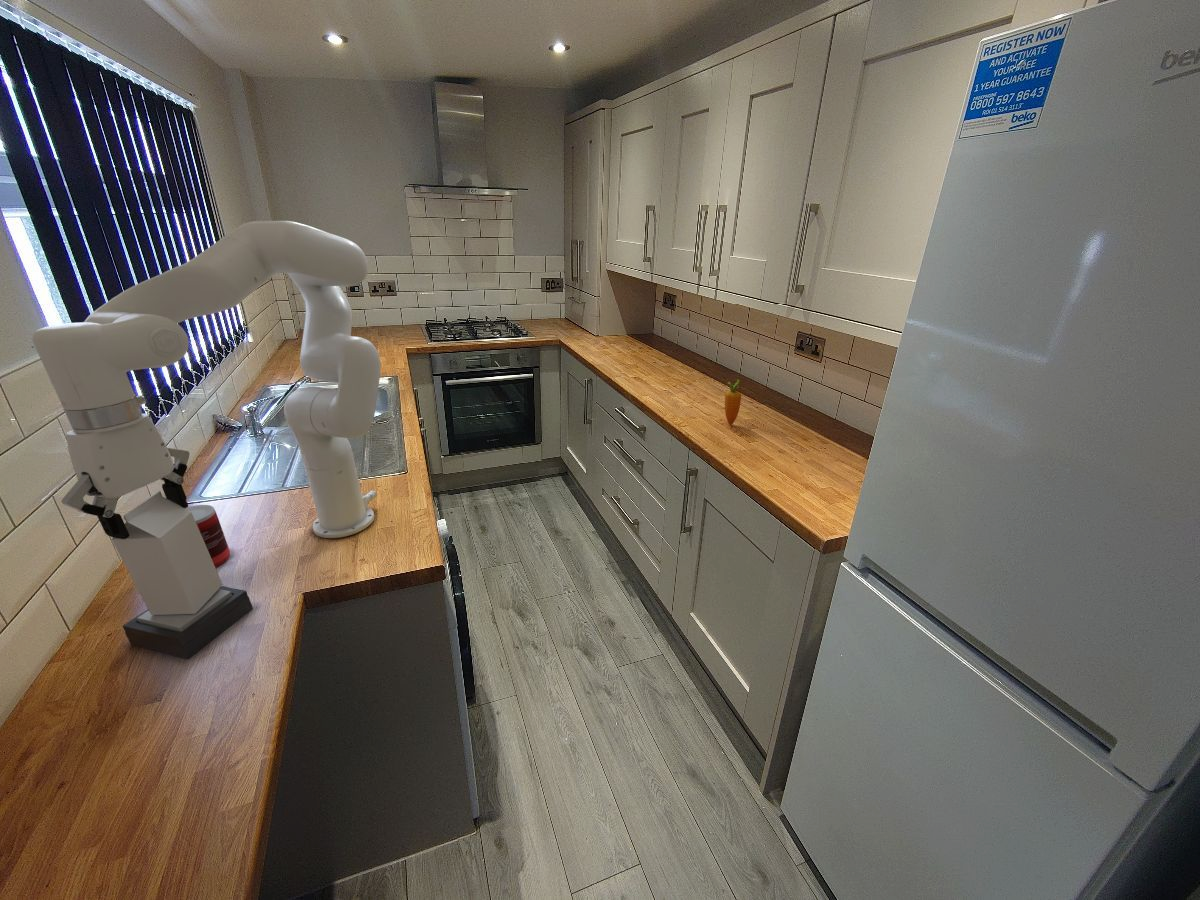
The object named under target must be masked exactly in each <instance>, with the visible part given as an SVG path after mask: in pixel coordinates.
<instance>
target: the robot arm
mask: <svg viewBox="0 0 1200 900" xmlns="http://www.w3.org/2000/svg"><path fill="white" fill-rule="evenodd" d="M368 272H369V263H368V258H367V257H366V254H365V253H364V251H363V249H361V247H360V246H359V245H358V244H357V243H355V242H353V241H352V240H351V239H348V238H345V237H342V236H339V235H336V234H333V233H330V232H327V231H325V230H322V229H318V228H316V227H313V226H310V225H307V224H303V223H300V222H296V221H291V220H255V221H250V222H249V221H248V222H245V223H243V224H240V225H239V226H237V227H235V228H234V229H233V230H232V231H230V232H229V233H227V234H226V235H225V236H223V237H221V238H220V239H219V240H218V241H216V242H214V243H213V244H211V246H209V247H207V248H206V249H205V250H203V251H202V252H201V253H199V254H198V255H196V256H195V257H193V258H192V259H190V260H188V261H187V262H185V263H183V264H180V265H177V266H175V267H173V268H171V269H168V270H166V271H163V272H162V273H160V274H157V275H156V276H153V277H150V278H148V279H145V280H144V281H141V282H140V283H137V284H134V285H133V286H130V287H129V288H127V289H125V290H124V291H121V292H120V293H119V294H117V295H116V296H114V297H112V298H111V299H110V300H107V302H105V303H103V304H102V305H101V306H99V307H98V308H96V309H95V310H94V311H93V312H91V313H90V314H89V315H88V316H87V317H86V319H85V320H84V321H82V322H68V323H60V324H52V325H48V326H43V327H41V328H39V329H37V330H35V331H34V332H33V334H32V342H33V346H34V348H35V350H36V352H37V354H38V357H39V358H40V361H41V364H42V365H43V368H44V369H45V372H46V374H47V376H48V378H49V380H50V383H51V384H52V387H53V389H54V391H55V393H56V396H57V397H58V400H59V402H60V404H61V406H62V408H63V411H64V413H65V415H66V417H67V420H68V422H69V424H70V427H71V428H72V429H71V430H69V431H67V432H66V433H65V435H66V443H67V449H68V454H69V457H70V462H71V463H72V464H71V465H72V468H73V471H74V473H75V476H76V479H77V481H76V482H75V483H74V484H73V485H72V487H71V488H70V490H68V492H67V493H66V494H65V495H64V496H63V497H62V498H61V504H62V505H65V506H67V507H68V508H71V509H73V510H76V511H77V512H79V513H82V514H86V515H87V514H88V515H92V516H96V517H97V518H98V521H99V523H100V526H101V527H102V530H103V531H104V533H105V534H106V535H107V536H109V537H110V538H113V537H114V538H119V539H126V538H128V537H129V536H130V535H129V533H128V530H127V528H126V526H125V520H124V519H123V517H122V515H121V514H120V513H116V512H115V511H116V508H117V505H118V501H119V498H120V497H123V496H126V495H128V494H130V493H132V492H135V491H137V490H140V489H141V488H144V487H146V486H148V485H151V484H152V483H155V482H157V481H159V480H160V481H162V482H163V483H162V484H161V488H162V491H163V493H164V496H165V498H166V499H168V500H170V501H172V502H174V503H176V504H178V505H180V506H181V507H183V508H187V507H189V504H188V500H187V498H188V497H187V495H186V493H185V491H184V487H183V485H182V484H184V483H185V474H186V473H187V470H188V465H187V464H189V463H188V462H189V459H190V451H188V450H184V449H177V448H171V447H168V446H167V444H166V442H165V441H164V439H163V437H162V434H161V433H160V431H159V430H158V428H157V426H156V425H155V424H154V422H153V421H152V419H151V418H150V417H149V416H148V414H146V413H142V412H143V410H142V407H141V406H142V405H145V404H147V399H146V397H145V396H144V395H142V394H140V395H137V394H135V392H134V390H133V387H132V385H131V382H130V379H129V377H128V374H127V373H128V372H131V371H137V370H148V369H157V368H164V367H169V366H171V365H173V364H176V363H177V362H179V361H180V360H181V359H183V358H184V357H185V355H186V354H187V351H188V350H189V346H190V342H189V341H190V340H189V336H188V334H187V333H186V331H185V330H184V328H183V327H182V325H180V323H182V322H184V321H187V320H191V319H194V318H195V319H196V318H198V317H203V316H208V315H213V314H217V313H220V312H225V311H227V310H230V309H232V308H235V307H237V306H238V305H239V304H241V303H242V302H243V301H244V300H245V299H246V298H248V297H249V296H250V295H251V294H252V293H254V291H256V290H257V289H258V288H259V287H260V286H262V285H263V284H264V283H266V282H267V281H268V280H270V278H272V277H273V276H275V275H277V274H287V276H288V277H289V278H290V279H291V281H292V282H293V283H294V284H295V286H296V288H297V289H298V291H299V293H300V294H301V296H302V298H303V301H304V305H305V315H304V326H303V332H302V340H301V347H300V354H299V366H300V368H301V369H300V370H301V371H302V373H303V374H304V375H305V376H307V378H310V379H312V380H316V381H319V382H327V383H337V389H336V388H330V387H321V386H305V387H300V388H298V389H296V390H294V391H292V392H291V393H290V394H289V395H288V396H287V398H286V399H285V402H284V406H283V413H284V418H285V420H286V423H287V425H288V428H289V429H290V431H291V433H292V435H293V437H294V439H295V441H296V444H297V446H298V449H299V453H300V454H301V459H302V463H303V467H304V470H305V474H306V478H307V482H308V486H309V490H310V492H311V497H312V501H313V504H314V507H315V511H316V514H317V518H315V520H314V521H313V523H312V531H313V533H314V534H315V536H317V537H320V538H324V539H339V538H344V537H348V536H352V535H355V534H357V533H360V532H362V531H363V530H365V529H367V528H368V527H369V526H371V524H373V522H374V520H375V513H374V510H373V509H372V508H371V507H369V505H370V502H371V501H372V500H374V499H375V498H377V496H378V494H377V492H376V490H374V489H371V490H370V491H368V492H367V493H365V494H364V493H363V492H362V489H361V484H360V481H359V476H358V470H357V467H356V463H355V458H354V453H353V449H352V446H351V443H350V441H349V439H359V438H361V437H363V436H364V435H366V434H367V433H368V432H369V431H370V429H371V427H372V425H373V422H374V418H375V413H376V408H377V401H378V393H379V384H380V380H381V371H382V370H381V369H382V367H381V366H382V365H381V357H380V354H379V351H378V349H377V348H376V346H375V345H374V344H373V342H371V341H370V340H368V339H367V338H365V337H361V336H355V335H352V328H353V327H352V326H353V312H352V307H351V304H350V302H349V300H348V297H347V296H346V294H345V293H344V292H343V290H342V287H346V288H349V287H355V286H358V285H360V284H361V283H362V282H363V281H364V280H365V279H366V277H367V276H368ZM173 459H174V461H173ZM85 496H89V497H93V500H92V504H91V503H89V502H87V501H85V500H84V497H85Z"/></svg>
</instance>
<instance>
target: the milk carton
mask: <svg viewBox="0 0 1200 900" xmlns="http://www.w3.org/2000/svg"><path fill="white" fill-rule="evenodd" d="M122 519H123V520H124V521H125V522H124V524H125V526H126V528H127V530H128V533H129V535H130V536H129V537H128V538H126V539H119V538H114V537H111V542H112V543H113V545H114V547H115V549H116V551H117V553H118V555H119V557H120V558H121V560H122V563H123V564H124V566H125V568H126V571H127V572H128V574H129V576H130V577H131V580H132V581H133V583H134V585H135V588H136V589H137V591H138V593H139V595H140V597H141V599H142V601H143V603H144V604H145V606H146V608H147V610H149V612H150V614H151V615H171V614H195V613H197V612H198V611H199V610H200V609H201V607H202V606H203V605H204V604H205V603H206V602H207V601H208V600H209V599H210V598H211V597H212V596H213V594H214V593H215V592H216V591H217V590H218V589H219V588H220V587H221V586H223V582H222V580H221V578H220V575H219V573H218V571H217V567H215V566H214V564H213V561H212V559H211V557H210V554H209V552H208V550H207V547H206V545H205V543H204V540H203V538H202V536H201V533H200V531H199V529H198V526H197V524H196V522H195V519H194V517H193V515H192V512H191V511H189V510H187V509H185V508H183V507H181V506H180V505H178V504H176V503H174V502H172V501H170V500H168V499H167V498H166V497H164V496H163V494H162V492H161V490H158V491H157V492H155V493H154V494H152V495H150V496H149V497H148V498H147V499H145V500H143V501H142V502H141V503H140V504H137V505H136V506H135V507H134V508H132V509H131V510H129V511H128V512H126V513H124V515H123V517H122Z"/></svg>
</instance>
